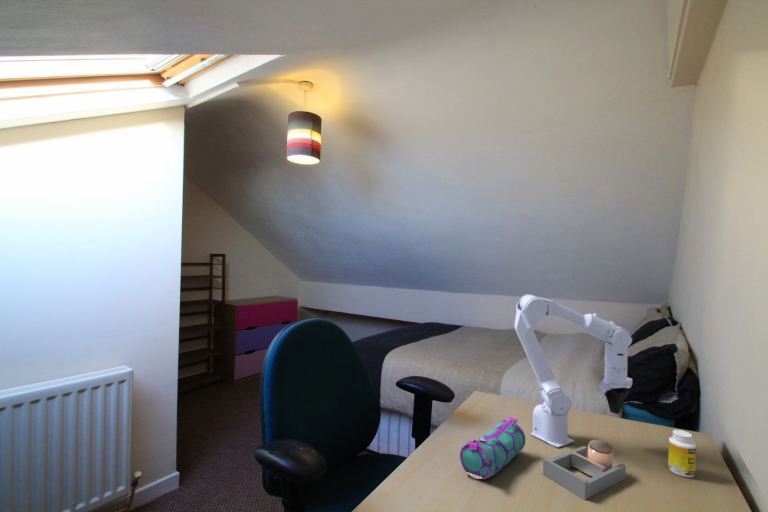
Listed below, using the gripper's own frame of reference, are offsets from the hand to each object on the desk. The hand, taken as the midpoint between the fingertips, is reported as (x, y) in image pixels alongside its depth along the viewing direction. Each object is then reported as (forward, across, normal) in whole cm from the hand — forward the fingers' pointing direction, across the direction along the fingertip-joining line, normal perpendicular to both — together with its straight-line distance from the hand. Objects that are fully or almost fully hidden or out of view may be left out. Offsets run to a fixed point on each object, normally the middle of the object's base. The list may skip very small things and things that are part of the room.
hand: (614, 412), depth 112 cm
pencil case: (+10, -40, +9) cm, 42 cm away
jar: (+9, -18, -6) cm, 21 cm away
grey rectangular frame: (+9, -23, -6) cm, 26 cm away
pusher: (+9, -22, -6) cm, 25 cm away
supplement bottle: (+10, +1, -17) cm, 19 cm away
